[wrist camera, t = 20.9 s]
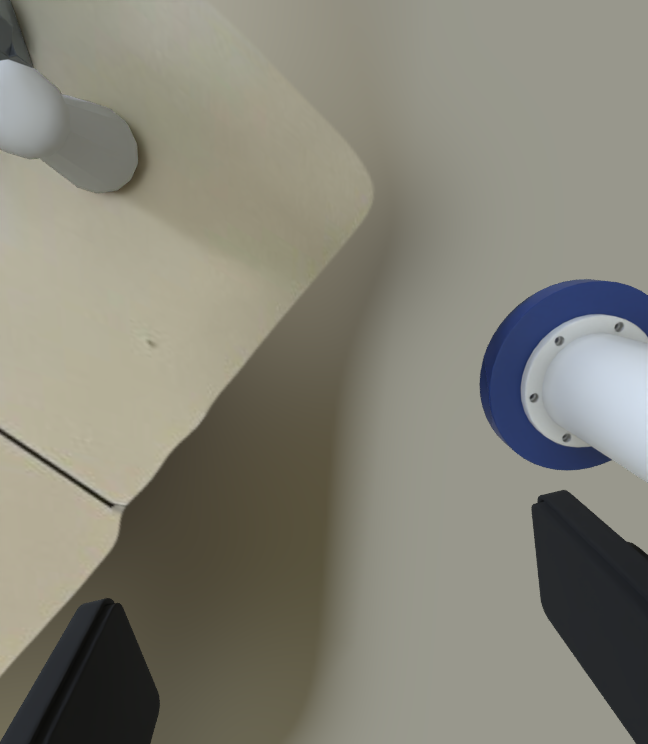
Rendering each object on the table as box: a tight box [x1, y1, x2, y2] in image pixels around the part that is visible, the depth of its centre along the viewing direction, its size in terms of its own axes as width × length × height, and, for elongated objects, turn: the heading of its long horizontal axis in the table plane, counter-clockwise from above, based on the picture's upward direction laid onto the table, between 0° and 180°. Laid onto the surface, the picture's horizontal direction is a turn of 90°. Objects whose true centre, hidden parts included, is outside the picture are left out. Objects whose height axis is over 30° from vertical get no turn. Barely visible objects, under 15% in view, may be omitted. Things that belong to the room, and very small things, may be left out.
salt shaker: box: [0, 59, 138, 193], centre depth 28 cm, size 6×6×13 cm
